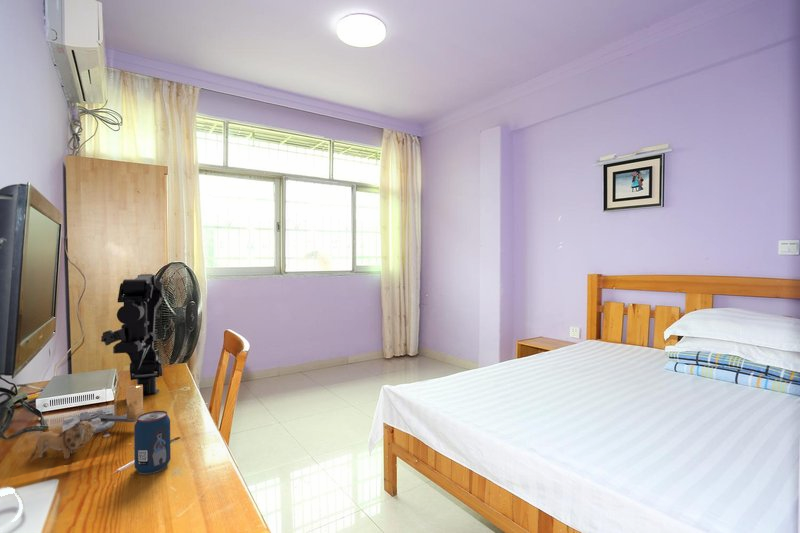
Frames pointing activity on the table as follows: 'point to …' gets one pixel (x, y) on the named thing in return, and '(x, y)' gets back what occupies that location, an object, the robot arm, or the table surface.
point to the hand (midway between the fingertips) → (136, 369)
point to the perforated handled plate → (107, 419)
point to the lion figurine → (65, 439)
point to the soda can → (152, 442)
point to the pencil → (133, 461)
